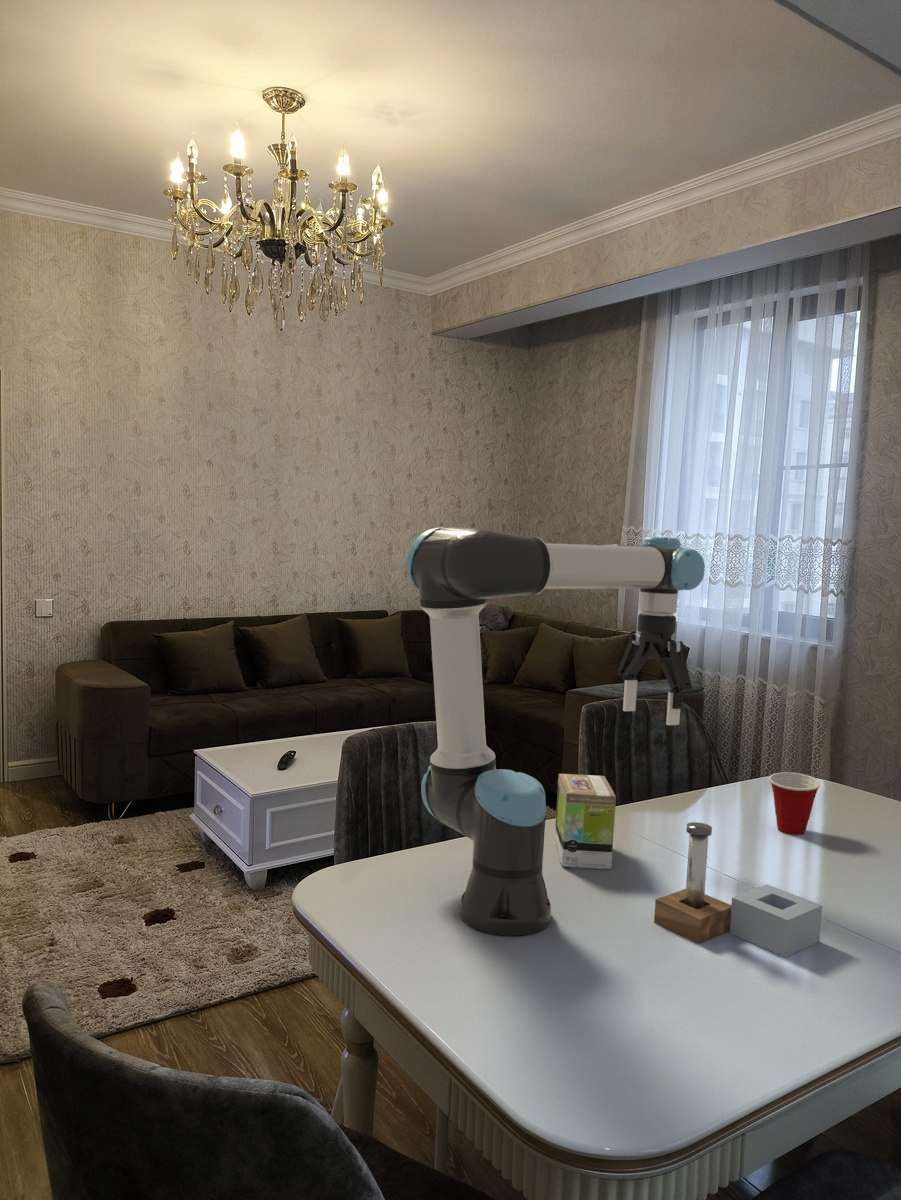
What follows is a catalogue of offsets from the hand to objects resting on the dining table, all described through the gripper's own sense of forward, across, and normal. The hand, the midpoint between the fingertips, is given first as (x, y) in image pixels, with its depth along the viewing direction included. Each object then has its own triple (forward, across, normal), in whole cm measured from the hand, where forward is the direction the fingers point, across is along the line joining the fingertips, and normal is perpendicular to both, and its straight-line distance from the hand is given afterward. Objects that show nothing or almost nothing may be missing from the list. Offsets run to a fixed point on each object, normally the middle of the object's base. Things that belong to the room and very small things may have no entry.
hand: (650, 717), depth 181 cm
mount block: (+28, -32, +15) cm, 45 cm away
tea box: (+28, +2, +13) cm, 31 cm away
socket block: (+28, -40, +5) cm, 49 cm away
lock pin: (+28, -32, +15) cm, 45 cm away
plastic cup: (+27, -3, -40) cm, 48 cm away
